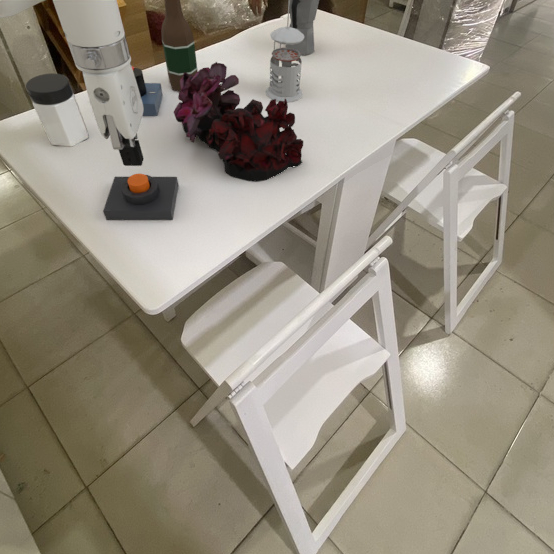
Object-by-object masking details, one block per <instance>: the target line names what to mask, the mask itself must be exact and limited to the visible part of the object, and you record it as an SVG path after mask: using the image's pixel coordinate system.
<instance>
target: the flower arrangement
mask: <svg viewBox="0 0 554 554" xmlns="http://www.w3.org/2000/svg"><path fill="white" fill-rule="evenodd" d="M227 69H228V67H227V65H225V64H224V63H220V62H218V61H215V62H214V63H212V64H211V65H210V67H209V66H207V67H202V68H201V69H199V70H197V71H198V72H197V73H196V74H195V76H194V75H189V74H188V73H186V72H185V73H183V77H182V78H181V80H180V85H181V90H180V92H179V91H178V96H177V97H178V100H179V101H180V102H178V103H177V105H176V107H175V108H174V110H173V115H174V118H175V120H176V121H177V122H178V123H181V125H182V128H183V131H184V132H185V133H186V137H187V138H188V139H189V141H191V142H192V143H195V141H196V138H198V140H199V141H200V142H202V143H203V144H206V146H207V147H208V149H211V150H215V151H216V152H218V153H217V155H218V158H219V159H220V160H222V162H223V163H222V164H223V167H224V173H225V174H227V175H228V176H230V177H231V178H235V179H238V180H243V181H247V182H261V181H268V180H270V179H272V178H274V177H276V175H277V174H279V173H280V174H282V173H283V172H285V171H286V170H288V169H289V168H288V167H292V168H294V167H293V166H298V165H299V166H300V165H302V164H303V160H302V156H303V155H302V150H303V147H304V140H302V138H298V135H297V134H296V132H295V129H292V127H294V124H296V116H295V113H293V112H288V109H289V108H288V107H289V105H288V102H287V100H286V99H284V101H276V99H274V100H272V99H270V100H269V103H268V104H267V105H266V107H265V109H264V106H263V103H262V102H261V101H260V100H256V99H254V98H253V99H251V100H250V101H249V102H248V103H247V104H246V106H245V107H243V108H242V107H238V106H239V105H240V103H241V97H240V94H238V93H236V92H235V90H233V89H232V88H234V87H236V86H238V85H239V84H240V80H239V77H238V76H237V75H236V74H231V75H229V76H227V71H228V70H227ZM222 92H223V93H222ZM263 110H264V111H265V112H266V113H267V116H265V117H264V115H263V114H262V113H263ZM281 129H282V130H281ZM301 163H302V164H301ZM299 166H298V167H299ZM287 168H288V169H287ZM284 170H285V171H284ZM281 172H282V173H281ZM280 174H279V175H280ZM273 176H274V177H273ZM277 176H278V175H277ZM271 177H272V178H271ZM269 178H270V179H269ZM267 179H268V180H267Z"/></svg>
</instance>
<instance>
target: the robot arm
mask: <svg viewBox="0 0 554 554" xmlns="http://www.w3.org/2000/svg"><path fill="white" fill-rule="evenodd" d="M45 1H46V0H0V18H1V19H2V18H3V19H4V18H11V17H13V16H16V15H18V14H20V13H22V12H24V11H26V10H28V9H30V8H32V7H34V6H36V5H38V4H40V3H42V2H45ZM52 3H53V5H54V8H55V11H56V14H57V16H58V20H59V23H60V25H61V28H62V30H63V33H64V34H63V35H64V36H65V39H66V42H67V45H68V48H69V51H70V53H71V56H72V59H73V61H74V65H75V67H76V69H77V70H79V71H81V72H82V76H83V81H84V84H85V85H84V86H85V89H86V93H87V96H88V100H89V103H90V107H91V110H92V114H93V116H94V120H95V122H96V126H97V128H98V130H99V133H100V135H101V136H102V137H103V139H105V140H108V139H109V138H110V142H111V146H112V149H113V150H114V151H115V150H116V151H118V152H119V155H120V158H121V161H122V162H121V163H122V164H123V166H125V167H126V166H127V167H142V166H143V162H144V155H143V152H142V147H141V144H140V140H139V139H138V138H139V136H138V132H139V128H140V125H141V121H142V119H143V116H142V115H143V110H144V109H143V103H142V99H141V96H140V93H139V89H138V86H137V82H136V79H135V76H134V72H133V69H132V66H133V65H132V64H131V62H132V57H131V53H130V49H129V44H128V41H127V37H126V33H125V28H124V24H123V20H122V17H121V13H120V12H121V11H120V8H119V4H118V0H52Z"/></svg>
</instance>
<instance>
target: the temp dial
mask: <svg viewBox="0 0 554 554" xmlns="http://www.w3.org/2000/svg"><path fill="white" fill-rule="evenodd" d="M131 66H132V69H133V72H134V76H135V79H136V82H137V86H138V89H139V93H140V96H141V97H142V96H144V95H145V94H146V93H147V91H146V86H145V83H146V82H145V77H144V73H143V70H142V69H141V68H138V67H135V66H133V65H131Z"/></svg>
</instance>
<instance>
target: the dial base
mask: <svg viewBox="0 0 554 554" xmlns="http://www.w3.org/2000/svg"><path fill="white" fill-rule="evenodd" d="M145 86H146V91H147V93H146V94H145V95H144V96H142V97H141V99H142V103H143V109H144V110H143V115H142V117H143V116H145V117H147V116H148V117H149V116H150V117H158V114H159V110H160V107H161V102H162V100H163V96H164V95H163V89H162V83H160V82H158V83H157V82H145Z"/></svg>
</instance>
